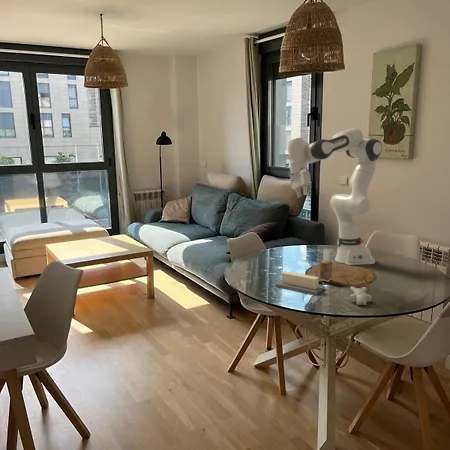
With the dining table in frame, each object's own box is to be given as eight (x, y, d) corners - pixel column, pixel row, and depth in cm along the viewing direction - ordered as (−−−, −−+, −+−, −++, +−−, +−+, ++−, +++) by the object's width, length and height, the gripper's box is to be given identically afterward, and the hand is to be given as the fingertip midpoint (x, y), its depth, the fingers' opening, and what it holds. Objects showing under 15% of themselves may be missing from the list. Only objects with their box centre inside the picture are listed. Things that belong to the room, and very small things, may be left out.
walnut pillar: (319, 281, 227) (320, 262, 225) (323, 278, 231) (323, 260, 229) (328, 282, 225) (328, 263, 223) (331, 280, 228) (332, 261, 226)
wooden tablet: (372, 290, 210) (350, 287, 211) (371, 295, 210) (349, 292, 211) (363, 273, 235) (343, 270, 237) (362, 277, 236) (343, 274, 237)
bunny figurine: (351, 297, 194) (348, 282, 208) (350, 308, 196) (347, 292, 210) (373, 298, 192) (369, 283, 206) (372, 309, 194) (368, 293, 208)
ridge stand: (275, 286, 221) (275, 274, 219) (284, 280, 229) (284, 268, 227) (316, 295, 208) (316, 282, 207) (324, 288, 216) (325, 276, 215)
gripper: (311, 165, 219) (315, 192, 219) (298, 172, 240) (301, 197, 239) (299, 166, 218) (303, 193, 218) (287, 173, 239) (290, 198, 238)
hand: (302, 195), depth 229 cm, fingers open, 8 cm apart
